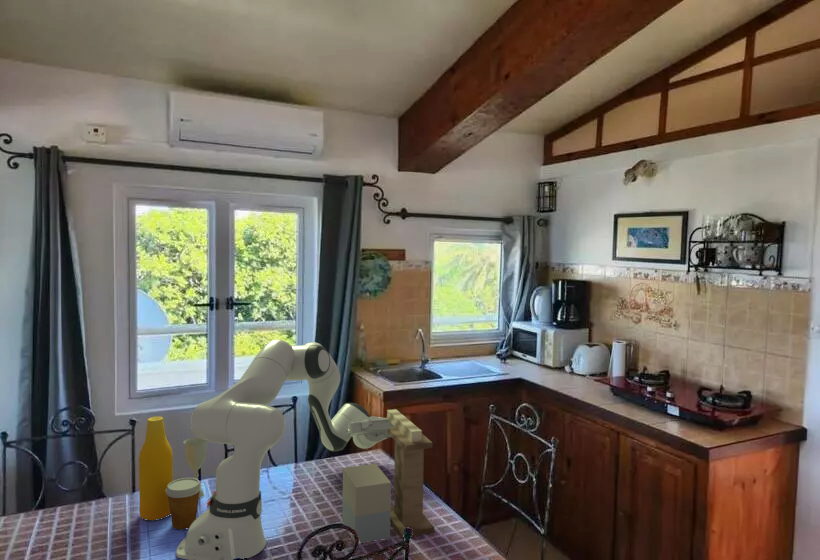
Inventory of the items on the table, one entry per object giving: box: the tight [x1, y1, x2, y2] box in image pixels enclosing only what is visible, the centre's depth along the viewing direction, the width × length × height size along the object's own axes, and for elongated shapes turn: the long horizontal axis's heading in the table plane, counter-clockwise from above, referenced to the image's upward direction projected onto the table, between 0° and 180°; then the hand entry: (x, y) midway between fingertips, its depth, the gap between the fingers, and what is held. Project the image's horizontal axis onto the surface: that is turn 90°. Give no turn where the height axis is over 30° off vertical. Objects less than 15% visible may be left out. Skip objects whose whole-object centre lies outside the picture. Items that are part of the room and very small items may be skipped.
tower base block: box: [341, 494, 391, 544], centre depth 157 cm, size 14×10×8 cm
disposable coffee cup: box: [166, 477, 202, 530], centre depth 158 cm, size 10×10×12 cm
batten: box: [386, 408, 423, 442], centre depth 165 cm, size 22×3×3 cm, turn 21°
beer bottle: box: [138, 416, 174, 520], centre depth 164 cm, size 9×9×29 cm
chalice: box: [183, 436, 208, 499], centre depth 176 cm, size 7×7×18 cm
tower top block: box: [342, 463, 392, 517], centre depth 157 cm, size 14×10×8 cm
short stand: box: [387, 427, 435, 539], centre depth 161 cm, size 16×10×26 cm, turn 21°
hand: (383, 421), depth 183 cm, fingers open, 8 cm apart
